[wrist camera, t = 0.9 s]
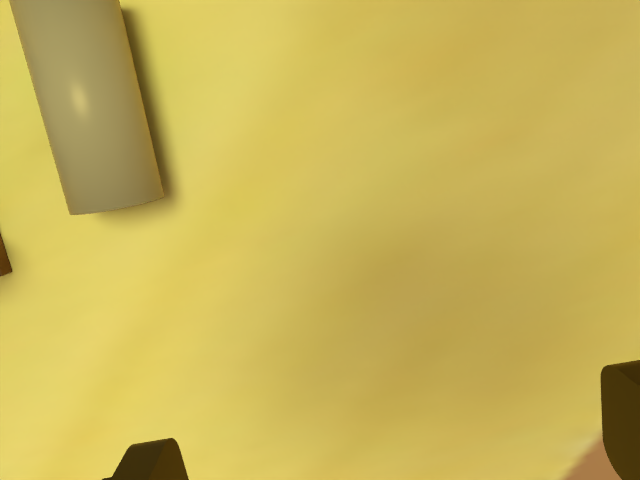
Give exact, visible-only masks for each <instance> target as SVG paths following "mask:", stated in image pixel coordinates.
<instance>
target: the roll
mask: <svg viewBox="0 0 640 480" xmlns="http://www.w3.org/2000/svg"><path fill="white" fill-rule="evenodd" d="M9 2H10V5H11V9H12V12H13V16H14V19H15V23H16V26H17V30H18V33H19V37H20V41H21V44H22V48H23V51H24V55H25V58H26V62H27V65H28V69H29V72H30V76H31V79H32V83H33V86H34V90H35V93H36V97H37V100H38V104H39V108H40V111H41V115H42V118H43V122H44V125H45V129H46V132H47V136H48V139H49V143H50V146H51V150H52V153H53V157H54V160H55V164H56V167H57V171H58V174H59V178H60V182H61V185H62V189H63V192H64V196H65V199H66V203H67V206H68V210H69V213H70V215H81V214H90V213H98V212H104V211H110V210H115V209H121V208H126V207H130V206H135V205H139V204H143V203H147V202H151V201H154V200H157V199H160V198H163V197H164V192H163V187H162V183H161V179H160V174H159V170H158V166H157V161H156V157H155V153H154V149H153V144H152V140H151V136H150V131H149V127H148V123H147V118H146V114H145V110H144V105H143V101H142V97H141V93H140V88H139V84H138V80H137V75H136V71H135V67H134V62H133V58H132V54H131V49H130V45H129V41H128V36H127V32H126V28H125V24H124V19H123V15H122V11H121V6H120V2H119V0H9Z"/></svg>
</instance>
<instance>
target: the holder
mask: <svg viewBox="0 0 640 480" xmlns="http://www.w3.org/2000/svg"><path fill="white" fill-rule="evenodd" d="M11 271H12V269H11V266H10V263H9V260H8V257H7V254H6V250H5V247H4V244H3V241H2V238H1V235H0V276H3V275H5V274H7V273H9V272H11Z"/></svg>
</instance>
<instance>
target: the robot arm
mask: <svg viewBox="0 0 640 480" xmlns="http://www.w3.org/2000/svg"><path fill="white" fill-rule="evenodd" d="M601 402H602V431H603V442H604V446H605V450H606V453H607V456H608V458H609V460H610V462H611V464H612V466H613V468H614V469H615V471H616V472H617V474H618V475H619V476H620V478H621V479H622V480H640V360H637V361H631V362H625V363H619V364H613V365H607V366H605V367H604V368H603V369H602V372H601ZM102 480H189V479H188V476H187V472H186V469H185V465H184V462H183V459H182V455H181V452H180V449H179V446H178V444H177V442H176V440H175V439H173V438H168V439H162V440H156V441H150V442H144V443H138V444H133V445H131V446H130V447H129V448H128V449H127V451H126V453H125V455H124V456H123V458H122V460H121V462H120V463H119V465H118V467H117V469H116V471H115V472H114V474H113V476H112V477H110V478H104V479H102Z"/></svg>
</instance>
